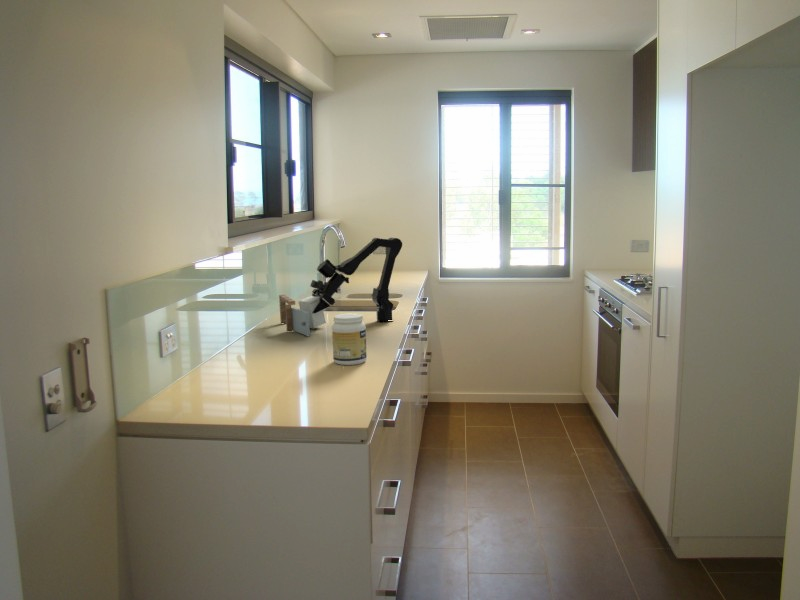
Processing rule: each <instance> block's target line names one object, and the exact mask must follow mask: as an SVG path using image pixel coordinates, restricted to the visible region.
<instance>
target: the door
mask: <svg viewBox="0 0 800 600" xmlns="http://www.w3.org/2000/svg"><path fill="white" fill-rule="evenodd" d="M291 313H292V331H294V332H297V333H299V334H302V335H305V336H306V337H309V336H311V332H310V329H311V328H309V312H306V311H303V310H300V308H296V307H291Z"/></svg>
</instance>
